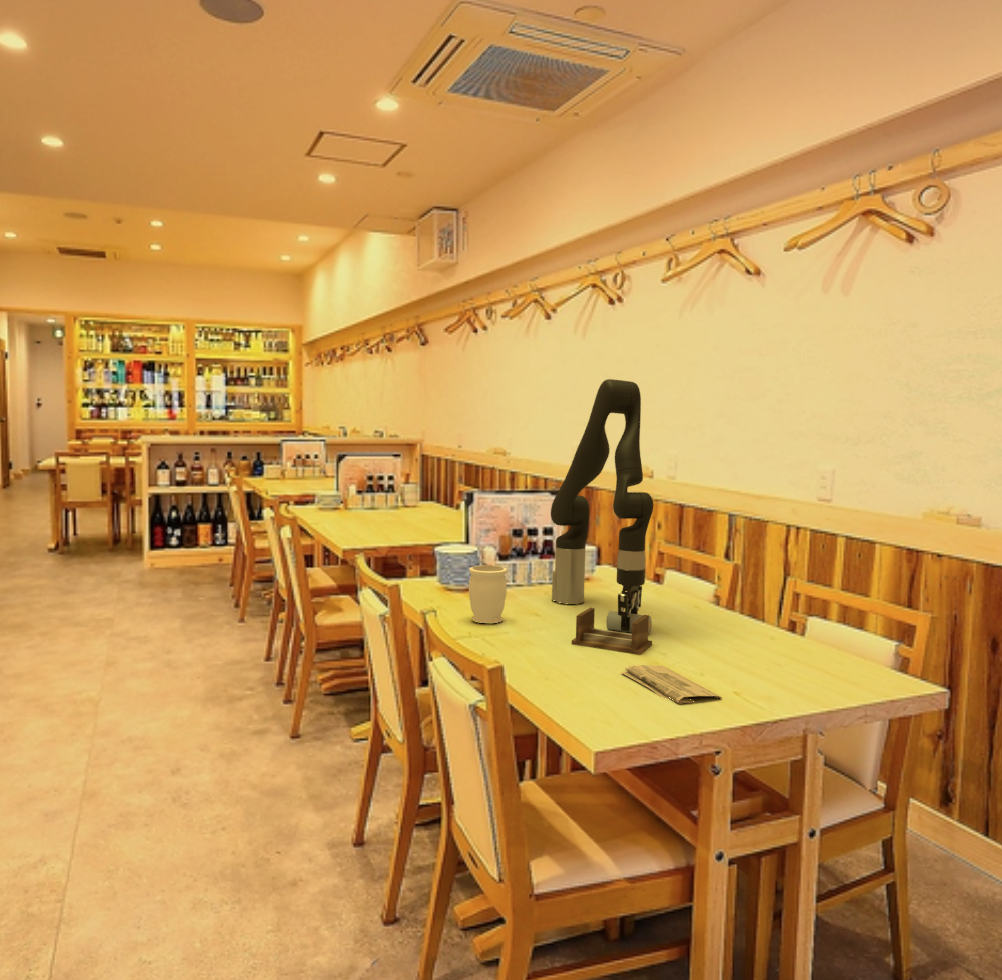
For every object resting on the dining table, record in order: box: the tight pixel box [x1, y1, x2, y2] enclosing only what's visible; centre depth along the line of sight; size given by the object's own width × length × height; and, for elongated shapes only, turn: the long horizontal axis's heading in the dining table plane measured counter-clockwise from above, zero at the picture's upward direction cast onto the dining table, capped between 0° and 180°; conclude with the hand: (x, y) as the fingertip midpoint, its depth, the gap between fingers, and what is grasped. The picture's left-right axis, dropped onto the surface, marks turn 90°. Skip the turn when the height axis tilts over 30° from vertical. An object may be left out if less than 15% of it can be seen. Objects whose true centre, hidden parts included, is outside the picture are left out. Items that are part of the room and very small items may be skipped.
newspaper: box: [620, 664, 723, 705], centre depth 172 cm, size 23×12×2 cm, turn 20°
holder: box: [571, 607, 653, 656], centre depth 203 cm, size 18×10×8 cm, turn 63°
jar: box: [468, 565, 508, 624], centre depth 223 cm, size 11×10×15 cm
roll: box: [605, 610, 653, 636], centre depth 215 cm, size 11×5×5 cm, turn 63°
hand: (629, 627), depth 215 cm, fingers open, 6 cm apart
